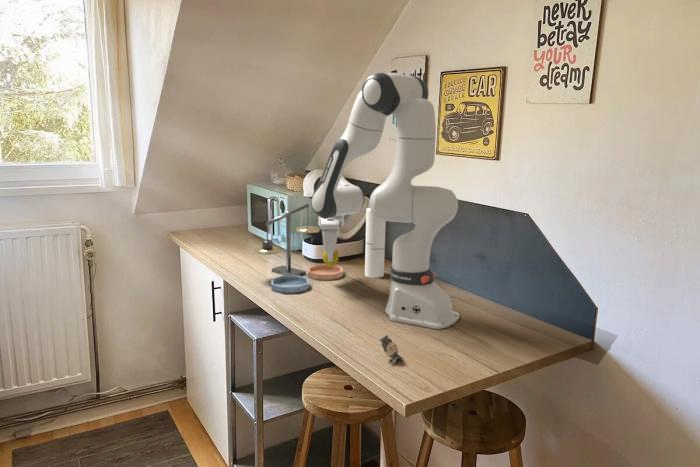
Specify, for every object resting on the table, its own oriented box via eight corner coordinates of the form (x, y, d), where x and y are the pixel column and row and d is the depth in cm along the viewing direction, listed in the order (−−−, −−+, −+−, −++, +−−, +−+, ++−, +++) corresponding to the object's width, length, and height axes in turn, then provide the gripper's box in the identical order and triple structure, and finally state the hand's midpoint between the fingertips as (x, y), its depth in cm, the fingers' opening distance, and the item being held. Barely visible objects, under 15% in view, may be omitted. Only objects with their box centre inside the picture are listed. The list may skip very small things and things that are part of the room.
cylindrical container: (371, 271, 209) (373, 206, 204) (387, 274, 205) (389, 209, 200) (361, 275, 204) (362, 209, 198) (377, 278, 200) (379, 211, 194)
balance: (303, 261, 220) (303, 200, 215) (326, 267, 213) (327, 204, 208) (247, 279, 196) (245, 211, 191) (270, 286, 189) (269, 215, 184)
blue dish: (316, 286, 190) (316, 280, 189) (291, 296, 180) (290, 289, 179) (289, 279, 197) (289, 273, 197) (263, 288, 187) (263, 281, 187)
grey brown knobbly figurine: (373, 359, 135) (374, 336, 134) (387, 354, 139) (388, 331, 138) (390, 366, 132) (392, 342, 131) (403, 360, 136) (405, 337, 135)
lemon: (321, 269, 189) (320, 246, 188) (325, 265, 195) (325, 243, 193) (336, 270, 188) (336, 247, 187) (340, 266, 194) (340, 244, 192)
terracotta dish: (349, 274, 205) (349, 268, 204) (327, 282, 194) (327, 276, 194) (322, 267, 212) (323, 262, 212) (300, 275, 202) (300, 269, 202)
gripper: (323, 214, 198) (323, 251, 201) (320, 225, 178) (319, 266, 181) (341, 215, 198) (340, 252, 201) (339, 225, 178) (338, 266, 181)
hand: (330, 258), depth 191 cm, fingers closed on lemon, 5 cm apart
